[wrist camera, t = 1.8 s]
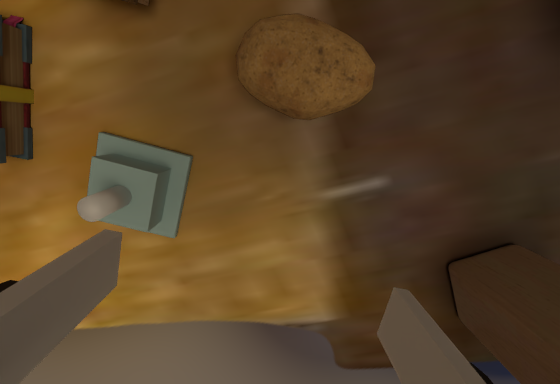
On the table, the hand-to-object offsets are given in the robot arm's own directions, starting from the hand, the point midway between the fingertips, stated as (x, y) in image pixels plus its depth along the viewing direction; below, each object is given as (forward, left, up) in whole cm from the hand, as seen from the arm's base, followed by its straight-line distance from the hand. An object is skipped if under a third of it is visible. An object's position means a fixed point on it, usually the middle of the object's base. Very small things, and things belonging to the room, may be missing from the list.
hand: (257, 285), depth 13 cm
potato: (-14, 0, -23) cm, 27 cm away
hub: (+4, -16, -23) cm, 28 cm away
